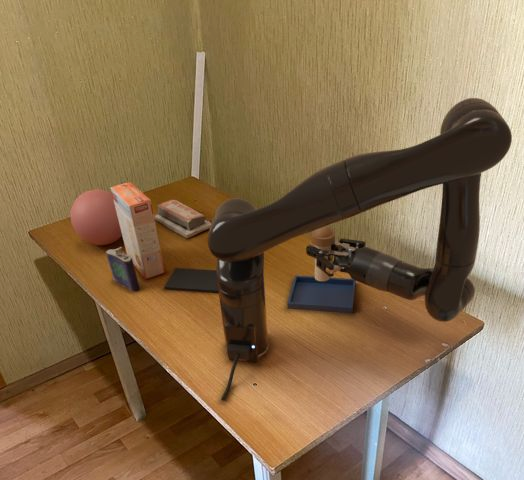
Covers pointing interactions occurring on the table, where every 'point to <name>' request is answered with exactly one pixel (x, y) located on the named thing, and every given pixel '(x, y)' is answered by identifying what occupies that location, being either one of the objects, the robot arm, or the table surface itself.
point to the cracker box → (138, 229)
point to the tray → (322, 294)
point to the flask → (122, 269)
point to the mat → (193, 280)
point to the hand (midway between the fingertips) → (313, 245)
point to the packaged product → (181, 218)
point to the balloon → (96, 217)
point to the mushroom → (323, 247)
